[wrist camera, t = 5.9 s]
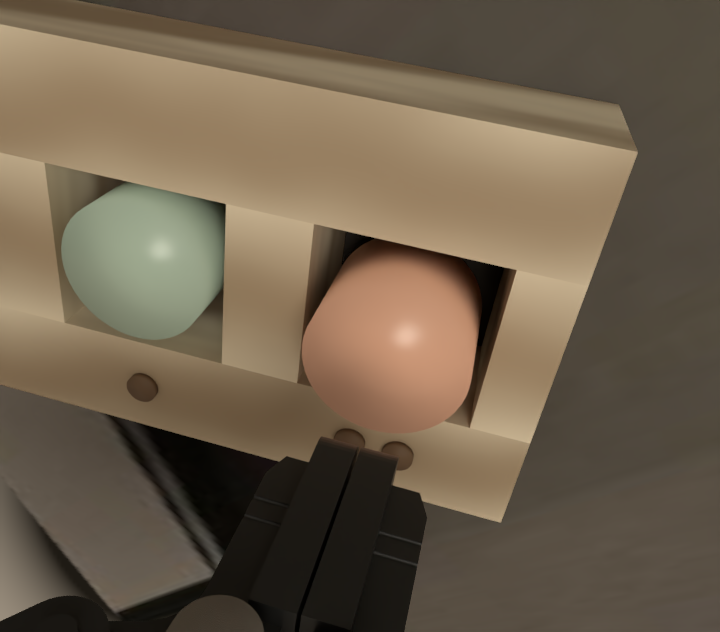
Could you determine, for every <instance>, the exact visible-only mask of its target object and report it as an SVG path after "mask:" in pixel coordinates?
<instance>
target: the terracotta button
mask: <svg viewBox="0 0 720 632" xmlns="http://www.w3.org/2000/svg"><path fill="white" fill-rule="evenodd" d="M481 314H482V297H481V292H480V288H479V285H478V283H477V280H476V278H475V276H474V274H473V273H472V271H471V269H470V268H469V267H468V265H467V264H466V263H465V262H464V261H463V260H462V259H461V258H460V257H457V256H453V255H448V254H444V253H439V252H435V251H431V250H426V249H422V248H417V247H413V246H409V245H404V244H400V243H395V242H391V241H387V240H382V239H378V238H376V239H373V240H371V241H369V242H367V243H365V244H363V245H362V246H360V247H359V248H357V249H356V250H355V251H354V252H353V253H352V254H351V255H350V256H349V257H348V258H347V259H346V261H345V262H344V264H343V265H342V267H341V269H340V271H339V272H338V274H337V276H336V277H335V279H334V281H333V283H332V284H331V286H330V288H329V290H328V291H327V293H326V295H325V297H324V298H323V300H322V302H321V304H320V305H319V307H318V309H317V310H316V312H315V314H314V316H313V317H312V319H311V321H310V323H309V324H308V326H307V328H306V331H305V334H304V337H303V342H302V360H303V366H304V369H305V373H306V375H307V378H308V380H309V382H310V384H311V386H312V387H313V389H314V390H315V392H316V393H317V394H318V396H319V397H320V398H321V399H322V400H323V402H324V403H325V404H326V405H327V406H329V407H330V408H331V409H332V410H333V411H334V412H336V413H337V414H339V415H340V416H342V417H343V418H345V419H347V420H348V421H350V422H352V423H354V424H357V425H359V426H361V427H364V428H367V429H370V430H374V431H379V432H385V433H413V432H418V431H422V430H426V429H428V428H431V427H434V426H436V425H438V424H440V423H442V422H443V421H445V420H446V419H448V418H449V417H450V416H451V415H452V414H454V413H455V412H456V411H457V409H458V408H459V407H460V406H461V405H462V403H463V401H464V400H465V398H466V396H467V393H468V391H469V388H470V384H471V379H472V373H473V366H474V360H475V353H476V347H477V340H478V334H479V327H480V321H481Z"/></svg>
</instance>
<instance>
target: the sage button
mask: <svg viewBox="0 0 720 632" xmlns="http://www.w3.org/2000/svg"><path fill="white" fill-rule="evenodd" d="M225 223H226V204H224V203H219V202H215V201H211V200H206V199H202V198H197V197H193V196H189V195H184V194H180V193H175V192H171V191H167V190H162V189H158V188H153V187H149V186H145V185H140V184H136V183H131V182H127V181H125V182H123V183H122V184H120V185H119V186H117V187H115V188H114V189H112V190H111V191H109V192H108V193H106V194H104V195H103V196H101V197H100V198H98V199H96V200H95V201H93V202H92V203H90V204H89V205H87V206H85V207H84V208H82V209H81V210H80V211H78V212H77V213H76V214H75V215H74V216H73V217H72V218H71V219H70V221H69V222H68V224H67V226H66V228H65V230H64V233H63V237H62V245H61V254H62V261H63V266H64V270H65V273H66V276H67V278H68V280H69V283H70V284H71V286H72V288H73V290H74V292H75V293H76V294H77V296H78V297H79V299H80V300H81V301H82V302H83V304H84V305H85V306H86V307H87V308H88V309H89V310H90V311H91V312H92V313H93V314H94V315H95V316H96V317H98V318H99V319H100V320H101V321H103V322H104V323H106V324H107V325H109V326H110V327H112V328H114V329H116V330H118V331H120V332H122V333H124V334H127V335H130V336H133V337H137V338H142V339H150V340H159V339H166V338H171V337H174V336H176V335H178V334H180V333H182V332H184V331H185V330H186V329H188V328H189V327H190V326H191V325H192V324H193V323H194V322H195V320H196V319H197V318H198V317H199V316H200V315H201V314H202V312H203V311H204V310H205V309H206V308H207V307H208V305H209V304H210V303H211V302H212V301H213V300H214V298H215V297H216V296H217V295H218V294H219V293H220V292H221V290H222V289H223V288H224V260H225Z"/></svg>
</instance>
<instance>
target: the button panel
mask: <svg viewBox="0 0 720 632" xmlns="http://www.w3.org/2000/svg"><path fill="white" fill-rule="evenodd" d="M637 153H638V151H637V149H636V146H635V144H634V141H633V139H632V136H631V134H630V131H629V129H628V126H627V124H626V121H625V119H624V116H623V114H622V112H621V109H620V107H619V105H618V104H613V103H608V102H603V101H597V100H592V99H587V98H582V97H577V96H571V95H566V94H561V93H556V92H551V91H545V90H540V89H535V88H530V87H525V86H519V85H514V84H509V83H504V82H499V81H493V80H488V79H483V78H478V77H473V76H467V75H462V74H457V73H452V72H447V71H441V70H436V69H431V68H426V67H421V66H415V65H410V64H405V63H400V62H395V61H389V60H384V59H379V58H374V57H369V56H363V55H358V54H353V53H348V52H343V51H337V50H332V49H327V48H322V47H317V46H311V45H306V44H301V43H296V42H291V41H285V40H280V39H275V38H270V37H265V36H259V35H254V34H249V33H244V32H239V31H233V30H228V29H223V28H218V27H213V26H207V25H202V24H197V23H192V22H187V21H181V20H176V19H171V18H166V17H161V16H156V15H150V14H145V13H140V12H135V11H130V10H124V9H119V8H114V7H109V6H104V5H98V4H93V3H88V2H83V1H78V0H0V385H4V386H7V387H11V388H14V389H18V390H22V391H25V392H29V393H33V394H36V395H40V396H43V397H47V398H51V399H54V400H58V401H62V402H65V403H69V404H72V405H76V406H80V407H83V408H87V409H91V410H94V411H98V412H101V413H105V414H109V415H112V416H116V417H120V418H123V419H127V420H130V421H134V422H138V423H141V424H145V425H149V426H152V427H156V428H159V429H163V430H167V431H170V432H174V433H178V434H181V435H185V436H188V437H192V438H196V439H199V440H203V441H207V442H210V443H214V444H217V445H221V446H225V447H228V448H232V449H236V450H239V451H243V452H246V453H250V454H254V455H257V456H261V457H265V458H268V459H272V460H275V461H279V462H280V461H281V460H282V459H283V458H285V457H286V456H288V457H292V458H295V459H299V460H302V461H306V462H309V461H310V458H311V456H312V454H313V452H314V449H315V447H316V445H317V443H318V440H319V439H320V437H321V436H323V437H327V438H330V439H334V440H338V441H341V442H345V443H349V444H352V445H356V446H359V451H360V449H361V447H364V448H368V449H371V450H375V451H379V452H382V453H386V454H390V455H394V456H397V457H399V460H398V465H397V469H396V474H395V478H394V482H393V486H397V487H400V488H404V489H408V490H411V491H415V492H418V493H420V495H421V499H422V501H424V502H428V503H431V504H435V505H439V506H442V507H446V508H449V509H453V510H457V511H460V512H464V513H468V514H471V515H475V516H478V517H482V518H486V519H489V520H493V521H497V522H500V523H501V521H502V518H503V515H504V513H505V510H506V507H507V504H508V502H509V499H510V496H511V494H512V491H513V488H514V486H515V483H516V480H517V477H518V475H519V472H520V469H521V467H522V464H523V461H524V458H525V456H526V453H527V450H528V448H529V445H530V442H531V440H532V437H533V434H534V431H535V429H536V426H537V423H538V421H539V418H540V415H541V413H542V410H543V407H544V404H545V402H546V399H547V396H548V394H549V391H550V388H551V386H552V383H553V380H554V377H555V375H556V372H557V369H558V367H559V364H560V361H561V359H562V356H563V353H564V350H565V348H566V345H567V342H568V340H569V337H570V334H571V331H572V329H573V326H574V323H575V321H576V318H577V315H578V313H579V310H580V307H581V304H582V302H583V299H584V296H585V294H586V291H587V288H588V286H589V283H590V280H591V277H592V275H593V272H594V269H595V267H596V264H597V261H598V259H599V256H600V253H601V250H602V248H603V245H604V242H605V240H606V237H607V234H608V232H609V229H610V226H611V223H612V221H613V218H614V215H615V213H616V210H617V207H618V204H619V202H620V199H621V196H622V194H623V191H624V188H625V186H626V183H627V180H628V177H629V175H630V172H631V169H632V167H633V164H634V161H635V159H636V156H637ZM125 181H127V182H131V183H136V184H140V185H145V186H149V187H153V188H158V189H162V190H167V191H171V192H175V193H180V194H184V195H189V196H193V197H197V198H202V199H206V200H211V201H215V202H219V203H224V204H226V223H225V260H224V288H223V289H222V290H221V292H220V293H219V294H218V295H217V296H216V297H215V298H214V300H213V301H212V302H211V303H210V304H209V305H208V307H207V308H206V309H205V310H204V311H203V312H202V314H201V315H200V316H199V317H198V318H197V319H196V320H195V322H194V323H193V324H192V325H191V326H190V327H189V328H188V329H186V330H185V331H184V332H182V333H180V334H178V335H176V336H174V337H171V338H166V339H159V340H150V339H142V338H137V337H133V336H130V335H127V334H124V333H122V332H120V331H118V330H116V329H114V328H112V327H110V326H109V325H107V324H106V323H104V322H103V321H101V320H100V319H99V318H98V317H96V316H95V315H94V314H93V313H92V312H91V311H90V310H89V309H88V308H87V307H86V306H85V305H84V304H83V302H82V301H81V300H80V299H79V297H78V296H77V294H76V293H75V292H74V290H73V288H72V286H71V284H70V283H69V280H68V278H67V276H66V273H65V270H64V266H63V261H62V254H61V245H62V237H63V233H64V230H65V228H66V226H67V224H68V222H69V221H70V219H71V218H72V217H73V216H74V215H75V214H76V213H77V212H78V211H80V210H81V209H82V208H84V207H85V206H87V205H89V204H90V203H92V202H93V201H95V200H96V199H98V198H100V197H101V196H103V195H104V194H106V193H108V192H109V191H111V190H112V189H114V188H115V187H117V186H119V185H120V184H122V183H123V182H125ZM346 231H347V232H351V233H356V234H360V235H365V236H369V237H373V238H378V239H382V240H387V241H391V242H395V243H400V244H404V245H409V246H413V247H417V248H422V249H426V250H431V251H435V252H439V253H444V254H448V255H453V256H457V257H461V258H466V259H470V260H475V261H479V262H483V263H488V264H492V265H497V266H501V267H504V270H503V273H502V277H501V280H500V284H499V287H498V291H497V294H496V297H495V301H494V304H493V308H492V311H491V315H490V318H489V322H488V325H487V329H486V332H485V336H484V339H483V343H482V346H477V347H476V353H475V360H474V366H473V373H472V379H471V384H470V388H469V391H468V393H467V396H466V398H465V400H464V401H463V403H462V405H461V406H460V407H459V408H458V409H457V411H456V412H455V413H454V414H452V415H451V416H450V417H449V418H448V419H446V420H445V421H443V422H442V423H440V424H438V425H436V426H434V427H431V428H428V429H426V430H422V431H418V432H413V433H385V432H379V431H374V430H370V429H367V428H364V427H361V426H359V425H357V424H354V423H352V422H350V421H348V420H347V419H345V418H343V417H342V416H340V415H339V414H337V413H336V412H334V411H333V410H332V409H331V408H330V407H329V406H327V405H326V404H325V403H324V402H323V400H322V399H321V398H320V397H319V396H318V394H317V393H316V392H315V390H314V389H313V387H312V386H311V384H310V382H309V380H308V378H307V375H306V373H305V369H304V366H303V360H302V342H303V337H304V334H305V331H306V328H307V326H308V324H309V323H310V321H311V319H312V317H313V316H314V314H315V312H316V310H317V309H318V307H319V305H320V304H321V302H322V300H323V298H324V297H325V295H326V293H327V291H328V290H329V288H330V286H331V284H332V283H333V281H334V279H335V277H336V276H337V274H338V272H339V271H340V269H341V264H342V257H343V250H344V242H345V235H346ZM359 451H358V454H359Z"/></svg>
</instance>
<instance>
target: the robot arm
mask: <svg viewBox="0 0 720 632" xmlns="http://www.w3.org/2000/svg"><path fill="white" fill-rule="evenodd" d="M358 451H359V446H356V445H352V444H349V443H345V442H341V441H338V440H334V439H330V438H327V437H323V436H321V437H320V439H319V440H318V443H317V445H316V447H315V449H314V452H313V454H312V456H311V458H310V461H309V462H306V461H302V460H299V459H295V458H292V457H288V456H286V457H285V458H283V459H282V460H281V461H280V462H278V463H277V464H276V465H275V466H273V467H272V468H271V469H270V470H268V471H267V472H266V473H265V475H264V477H263V479H262V481H261V483H260V485H259V487H258V489H257V491H256V493H255V495H254V498H253V499H252V500H251V502H250V504H249V506H248V508H247V510H246V512H245V515H244V518H242V520H241V522H240V524H239V526H238V528H237V530H236V532H235V534H234V536H233V537H232V539H231V541H230V543H229V545H228V547H227V549H226V551H225V553H224V555H223V557H222V559H221V561H220V563H219V565H218V567H217V569H216V571H215V573H214V575H213V577H212V578H211V580H210V582H209V584H208V586H207V588H206V589H205V591H204V592H203V594H202V595H201V596H200V597H199V598H198V599H197V600H196V601H194V602H192V603H190V604H189V605H187V606H186V607H184V608H183V609H182V610H181V611H180V612H179V613H177V614H175V615H172V616H169V617H167V618H162V619H158V620H148V621H108V619H107V616H106V614H105V613H104V611H103V609H102V608H101V607H100V606H98V604H96V603H95V602H93V601H91V600H89V599H86V598H83V597H78V596H61V597H56V598H52V599H48V600H46V601H43V602H41V603H39V604H36V605H34V606H32V607H30V608H28V609H26V610H24V611H21V612H19V613H18V614H15V615H13V616H11V617H9V618H6V619H4V620H2V621H0V632H404V630H405V625H406V620H407V615H408V610H409V605H410V600H411V595H412V590H413V585H414V580H415V575H416V570H417V564H418V560H419V555H420V550H421V544H422V540H423V535H424V530H425V525H426V520H427V516H426V513H425V509H424V506H423V502H422V499H421V495H420V493H418V492H415V491H411V490H408V489H404V488H400V487H397V486H393V482H394V478H395V474H396V469H397V465H398V460H399V457H397V456H394V455H390V454H386V453H382V452H379V451H375V450H371V449H368V448H364V447H361V449H360V451H359V454H358Z"/></svg>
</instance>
